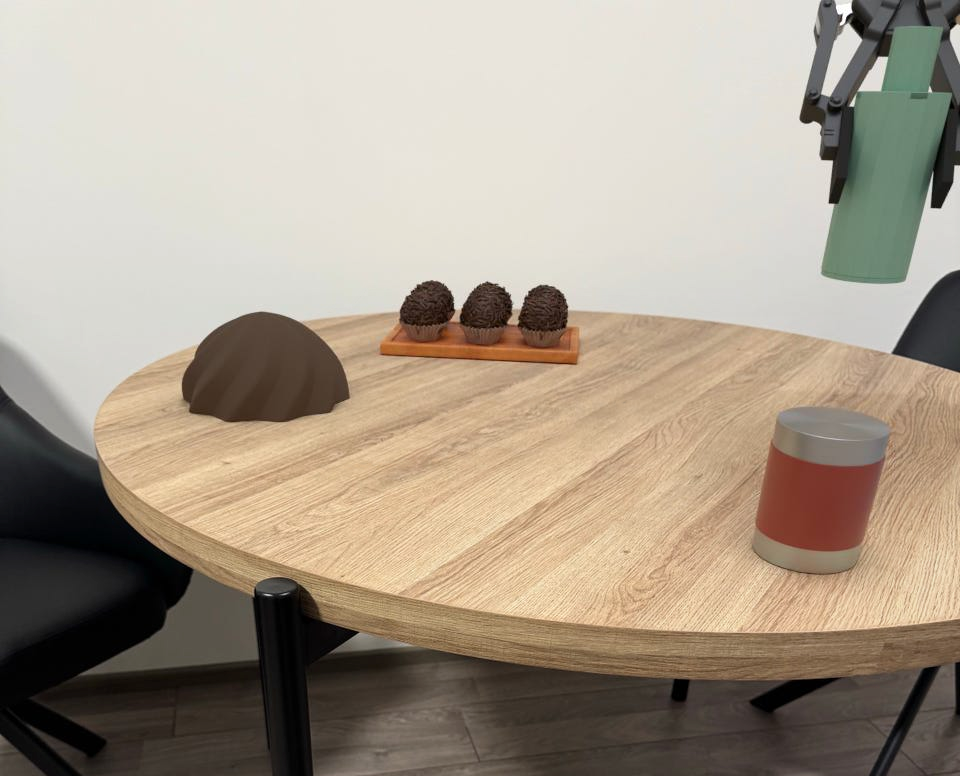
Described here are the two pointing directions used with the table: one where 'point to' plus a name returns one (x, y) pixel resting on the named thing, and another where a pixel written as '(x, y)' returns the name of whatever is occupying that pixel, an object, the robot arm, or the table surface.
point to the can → (819, 488)
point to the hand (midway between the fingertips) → (889, 193)
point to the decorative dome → (263, 371)
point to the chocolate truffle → (484, 326)
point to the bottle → (889, 165)
